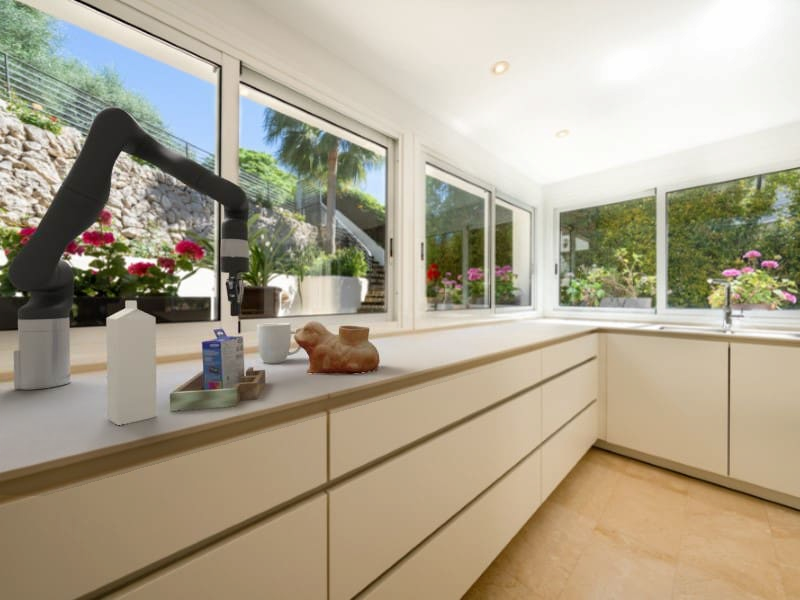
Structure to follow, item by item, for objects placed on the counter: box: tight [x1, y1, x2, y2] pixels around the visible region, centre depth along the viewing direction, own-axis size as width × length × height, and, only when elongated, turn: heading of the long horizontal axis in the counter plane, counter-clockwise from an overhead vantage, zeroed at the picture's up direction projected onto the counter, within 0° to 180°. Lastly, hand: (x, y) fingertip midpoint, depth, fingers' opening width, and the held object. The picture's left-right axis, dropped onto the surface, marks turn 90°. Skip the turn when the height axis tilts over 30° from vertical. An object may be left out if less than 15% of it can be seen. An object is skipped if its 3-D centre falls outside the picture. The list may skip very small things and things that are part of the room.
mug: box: [256, 322, 302, 364], centre depth 121 cm, size 15×11×13 cm
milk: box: [105, 300, 158, 426], centre depth 65 cm, size 6×6×22 cm
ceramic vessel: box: [293, 320, 381, 375], centre depth 107 cm, size 14×26×15 cm, turn 88°
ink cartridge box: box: [201, 328, 246, 390], centre depth 88 cm, size 10×6×14 cm, turn 174°
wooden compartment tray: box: [169, 366, 266, 412], centre depth 82 cm, size 16×23×4 cm
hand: (235, 315), depth 102 cm, fingers closed
